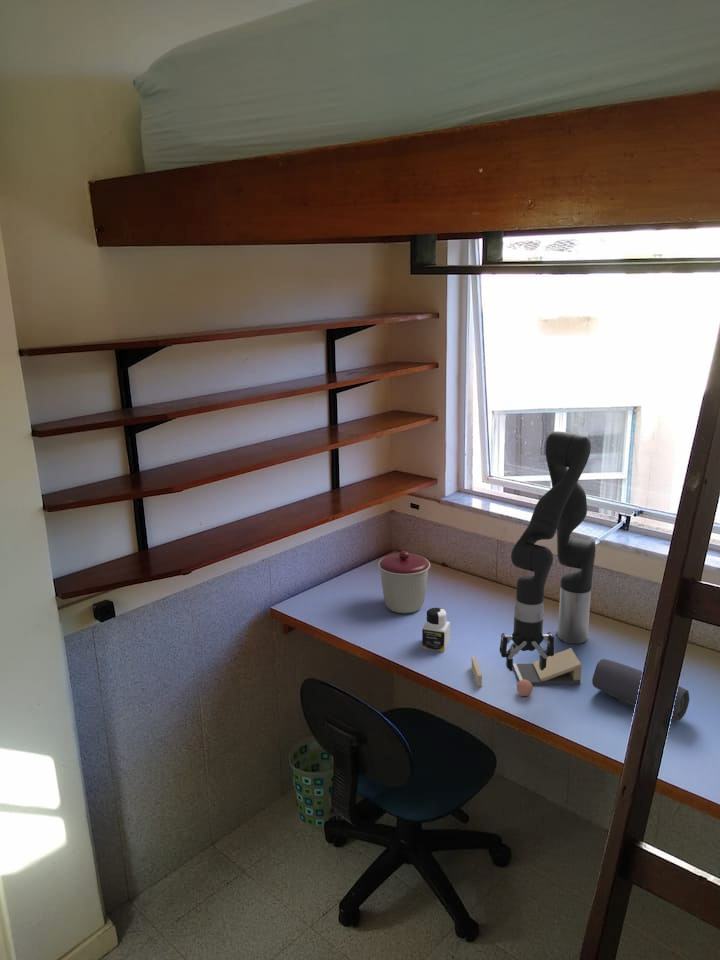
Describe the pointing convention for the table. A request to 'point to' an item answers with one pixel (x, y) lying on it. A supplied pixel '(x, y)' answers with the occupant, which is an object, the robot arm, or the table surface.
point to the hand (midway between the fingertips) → (525, 669)
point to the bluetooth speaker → (630, 685)
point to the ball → (524, 687)
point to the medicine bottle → (436, 630)
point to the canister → (404, 581)
